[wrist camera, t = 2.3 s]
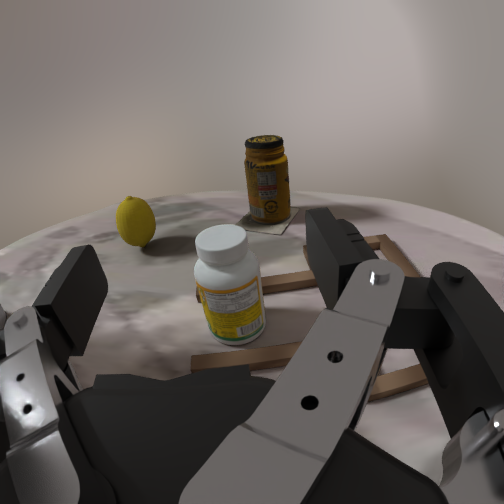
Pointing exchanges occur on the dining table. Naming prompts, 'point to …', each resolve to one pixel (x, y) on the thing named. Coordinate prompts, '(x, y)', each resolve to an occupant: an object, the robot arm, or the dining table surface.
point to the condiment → (267, 186)
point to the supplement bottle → (229, 284)
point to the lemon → (135, 221)
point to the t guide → (285, 352)
